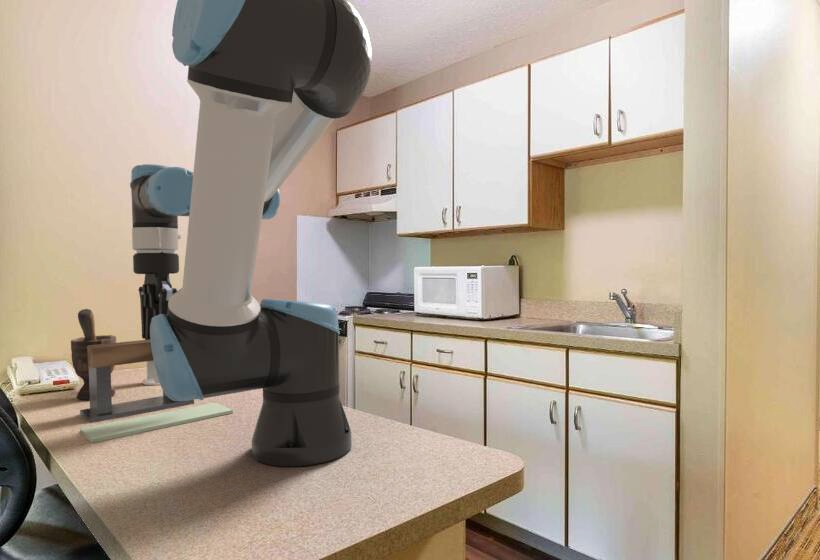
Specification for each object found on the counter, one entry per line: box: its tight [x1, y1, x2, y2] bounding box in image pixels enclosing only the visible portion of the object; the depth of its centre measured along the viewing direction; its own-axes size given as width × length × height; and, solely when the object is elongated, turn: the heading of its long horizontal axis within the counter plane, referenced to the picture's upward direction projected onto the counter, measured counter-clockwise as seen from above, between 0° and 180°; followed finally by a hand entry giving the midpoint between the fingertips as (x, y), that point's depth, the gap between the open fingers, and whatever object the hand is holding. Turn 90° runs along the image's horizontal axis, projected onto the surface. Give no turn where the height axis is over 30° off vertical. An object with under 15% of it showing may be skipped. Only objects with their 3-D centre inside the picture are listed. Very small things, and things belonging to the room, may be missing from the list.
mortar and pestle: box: [70, 308, 117, 401], centre depth 115 cm, size 12×9×20 cm
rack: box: [79, 366, 195, 424], centre depth 106 cm, size 8×19×12 cm, turn 133°
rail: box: [87, 339, 154, 368], centre depth 96 cm, size 3×22×3 cm, turn 133°
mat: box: [79, 402, 234, 444], centre depth 97 cm, size 8×24×1 cm, turn 133°
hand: (159, 379), depth 97 cm, fingers closed on rail, 3 cm apart
